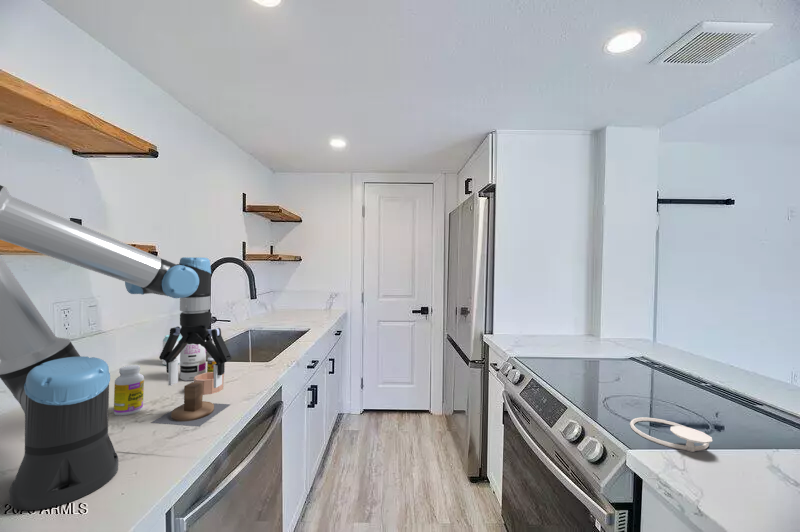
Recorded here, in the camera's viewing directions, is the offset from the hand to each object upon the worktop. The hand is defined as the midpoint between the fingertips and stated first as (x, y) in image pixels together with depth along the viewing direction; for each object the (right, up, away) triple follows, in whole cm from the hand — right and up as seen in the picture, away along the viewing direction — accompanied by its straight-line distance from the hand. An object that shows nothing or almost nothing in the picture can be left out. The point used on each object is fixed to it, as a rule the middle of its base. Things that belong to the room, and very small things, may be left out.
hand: (195, 385), depth 97 cm
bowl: (-6, -8, +17) cm, 20 cm away
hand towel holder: (+132, -12, -7) cm, 132 cm away
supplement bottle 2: (-10, -8, +29) cm, 31 cm away
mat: (0, -8, 0) cm, 8 cm away
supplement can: (-19, -8, +30) cm, 36 cm away
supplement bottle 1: (-19, -8, 0) cm, 21 cm away
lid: (0, -8, 0) cm, 8 cm away
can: (-37, -7, +46) cm, 59 cm away
